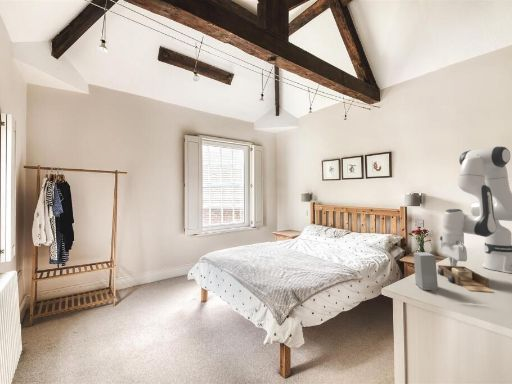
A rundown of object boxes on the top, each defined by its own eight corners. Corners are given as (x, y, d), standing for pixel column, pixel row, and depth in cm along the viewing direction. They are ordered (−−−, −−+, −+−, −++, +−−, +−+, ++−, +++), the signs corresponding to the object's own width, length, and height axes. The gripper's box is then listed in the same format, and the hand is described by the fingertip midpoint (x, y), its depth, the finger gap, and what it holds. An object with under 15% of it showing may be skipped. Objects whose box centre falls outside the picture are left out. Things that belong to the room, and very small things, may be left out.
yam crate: (465, 276, 131) (465, 267, 131) (472, 280, 125) (471, 270, 125) (451, 275, 133) (451, 266, 133) (457, 279, 127) (457, 270, 127)
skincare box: (438, 291, 115) (438, 255, 115) (420, 290, 116) (420, 255, 117) (429, 284, 123) (429, 251, 123) (413, 283, 125) (413, 251, 125)
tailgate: (485, 286, 118) (494, 291, 111) (485, 288, 118) (494, 294, 111) (461, 284, 120) (469, 289, 114) (461, 286, 120) (469, 292, 114)
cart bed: (467, 275, 138) (467, 266, 138) (491, 289, 117) (491, 279, 117) (435, 272, 142) (435, 264, 142) (454, 286, 121) (454, 276, 121)
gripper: (471, 243, 126) (471, 272, 126) (451, 237, 146) (450, 261, 145) (456, 242, 127) (456, 270, 127) (438, 236, 147) (438, 260, 147)
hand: (453, 265), depth 136 cm, fingers closed
